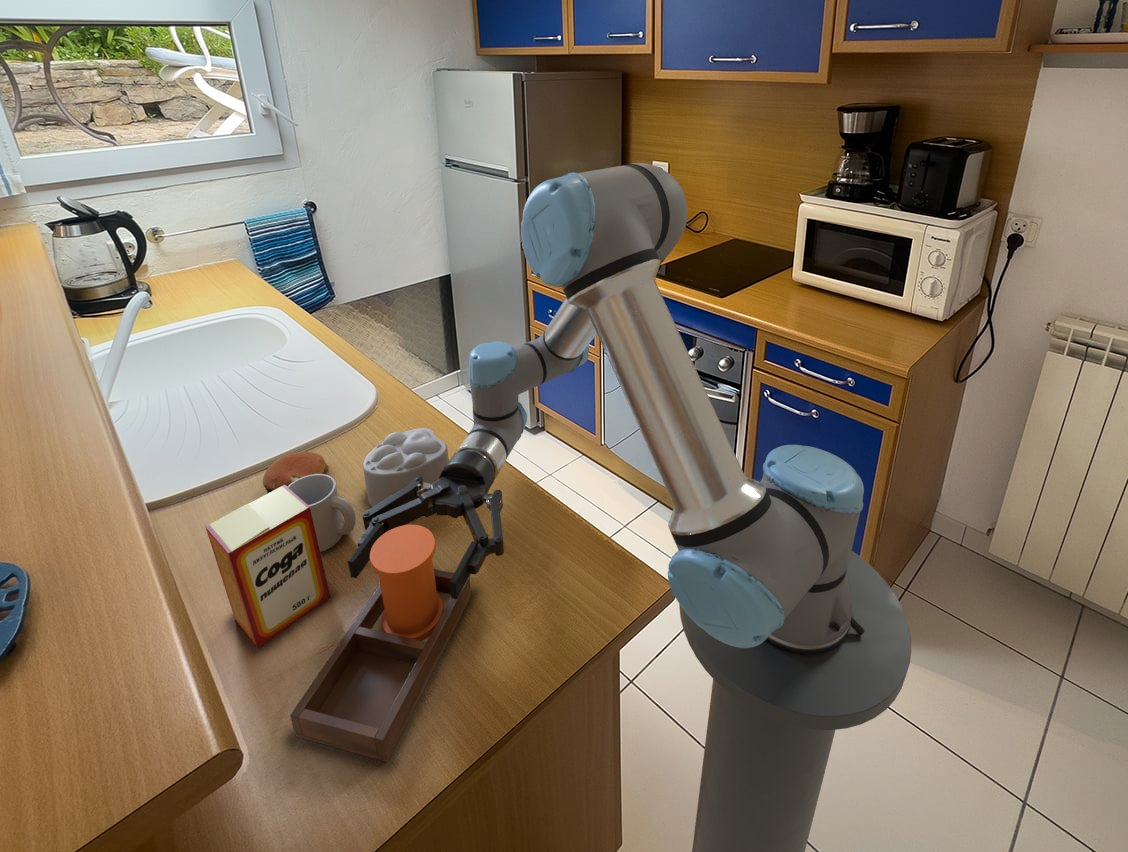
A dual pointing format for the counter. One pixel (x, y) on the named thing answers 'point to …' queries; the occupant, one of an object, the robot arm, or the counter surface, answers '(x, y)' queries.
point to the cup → (325, 508)
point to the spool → (407, 581)
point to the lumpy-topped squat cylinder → (403, 462)
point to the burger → (293, 469)
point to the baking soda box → (269, 563)
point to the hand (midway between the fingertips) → (401, 580)
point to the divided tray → (375, 679)
